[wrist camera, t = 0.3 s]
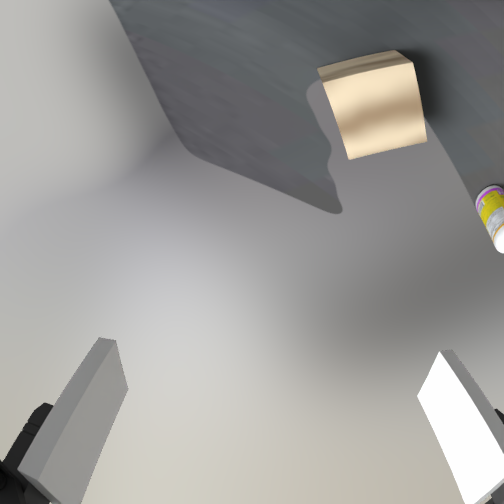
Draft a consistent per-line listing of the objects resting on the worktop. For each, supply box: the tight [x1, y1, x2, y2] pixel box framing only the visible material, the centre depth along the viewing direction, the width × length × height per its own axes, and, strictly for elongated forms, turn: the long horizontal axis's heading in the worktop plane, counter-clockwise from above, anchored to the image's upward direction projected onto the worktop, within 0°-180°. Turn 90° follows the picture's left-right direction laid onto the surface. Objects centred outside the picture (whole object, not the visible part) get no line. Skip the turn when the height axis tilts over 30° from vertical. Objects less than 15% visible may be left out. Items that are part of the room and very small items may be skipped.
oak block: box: [317, 50, 427, 159], centre depth 30 cm, size 10×10×6 cm
